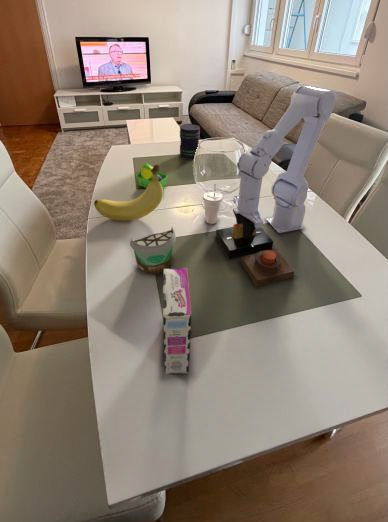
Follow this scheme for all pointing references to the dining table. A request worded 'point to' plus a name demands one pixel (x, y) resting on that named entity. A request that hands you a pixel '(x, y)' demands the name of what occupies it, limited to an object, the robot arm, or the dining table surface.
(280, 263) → the block
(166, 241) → the food container
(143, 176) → the fruit basket
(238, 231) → the tap lever
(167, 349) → the candy bar box
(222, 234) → the base
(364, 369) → the dining table surface
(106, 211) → the banana
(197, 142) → the storage jar
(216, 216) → the smoothie
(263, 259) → the button
